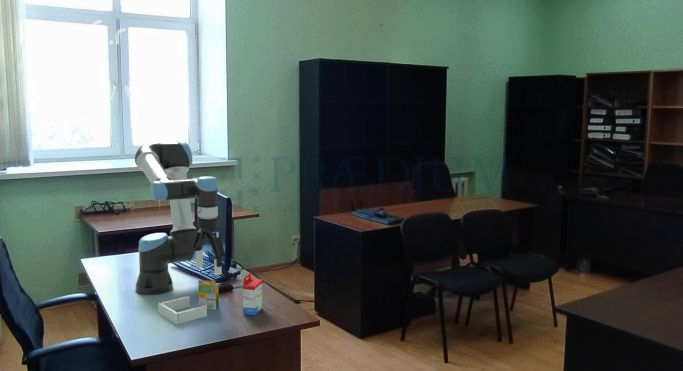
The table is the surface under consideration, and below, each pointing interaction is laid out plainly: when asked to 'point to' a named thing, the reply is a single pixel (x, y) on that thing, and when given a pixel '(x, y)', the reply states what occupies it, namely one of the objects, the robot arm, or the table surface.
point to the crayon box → (208, 294)
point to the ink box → (252, 295)
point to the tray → (184, 316)
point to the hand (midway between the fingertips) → (208, 270)
